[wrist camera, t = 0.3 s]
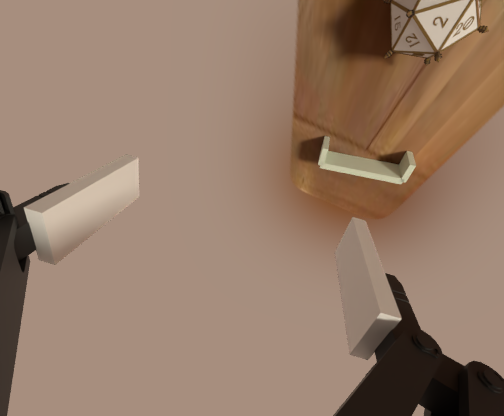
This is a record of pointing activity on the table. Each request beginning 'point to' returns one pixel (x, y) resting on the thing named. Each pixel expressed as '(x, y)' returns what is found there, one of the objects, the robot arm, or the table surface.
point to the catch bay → (366, 165)
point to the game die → (431, 25)
